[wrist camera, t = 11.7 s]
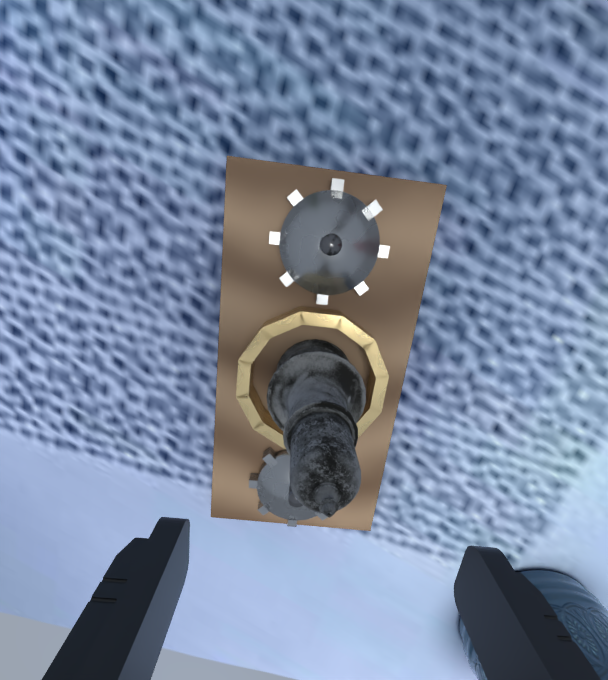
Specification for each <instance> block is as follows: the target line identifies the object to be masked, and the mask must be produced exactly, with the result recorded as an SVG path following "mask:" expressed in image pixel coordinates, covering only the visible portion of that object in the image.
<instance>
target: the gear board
mask: <svg viewBox="0 0 608 680" xmlns="http://www.w3.org/2000/svg"><path fill="white" fill-rule="evenodd" d="M332 178H335V179H343V180H344V187H343V192H345V193H348V194H351V195H353V196H354V197H356V198H358V199H359V200H360V201H362V202H363V203H364V204H365V205H366V206H368V205H369V204H370V203H372V202H373V201H374V200H377V202H378V203H379V205H380V206H381V208H382V209H383V210H382V211H381V212H379V213H378V214H377V215H376V216H374V218H375V220H376V223H377V226H378V230H379V236H380V245H384V246H390V249H389V254H388V258H381V257H377V260H376V263H375V265H374V267H373V269H372V271H371V272H370V274H369V275H368V276H367V277H366V278H365V280H364V283H365V284H366V285H367V287H368V288H369V289H368V290H367V291H366V292H364V293H363V294H362V295H360V296H359V295H358V294H357V293H356V291H355V290H354V289H351V290H349V291H347V292H344V293H341V294H337V295H328V302H327V305H322V304H316V293H313V292H310V291H308V290H306V289H304V288H302V287H301V286H299V285H298V284H297V283H296V282H295V281H294V282H292V283H291V284H290V285H289V286H288V287H286V286H285V285H284V284H283V282H282V281H281V280H280V279H279V278H280V277H281V276H282V275H283V274H285V273H286V272H287V271H286V269H285V267H284V265H283V262H282V259H281V255H280V248H279V245H275V244H269V236H270V231H271V232H279V233H280V232H281V229H282V225H283V223H284V221H285V218H286V217H287V215H288V213H289V212H290V211H291V209H292V208H293V206H292V205H291V204H290V202H289V201H288V200H287V197H288V196H289V195H290V194H291V193H293V192H294V191H295V190H296V189H297V191H298V192H299V193H300V195H301V196H302V197H303V198H305V197H307V196H308V195H310V194H313V193H316V192H320V191H325V190H330V185H331V180H332ZM446 186H447V185H442V184H435V183H427V182H420V181H412V180H405V179H397V178H390V177H382V176H375V175H367V174H360V173H352V172H345V171H337V170H330V169H322V168H315V167H307V166H300V165H292V164H285V163H277V162H270V161H262V160H255V159H247V158H240V157H232V156H227V164H226V186H225V208H224V231H223V253H222V276H221V298H220V320H219V343H218V365H217V388H216V410H215V433H214V455H213V477H212V500H211V517H216V518H228V519H239V520H251V521H262V522H274V523H286V524H288V520H287V519H283V518H280V517H278V516H276V515H274V514H272V513H271V512H268V513H267V514H265V515H264V516H263V515H262V514H261V513H260V512H259V511H258V510H257V509H258V503H259V501H260V499H259V497H258V493H257V489H255V488H249V479H250V475H251V473H258V474H259V472H260V469H261V467H262V465H263V464H264V462H265V461H264V460H263V459H262V457H263V452H264V451H266V450H267V449H268V448H270V447H271V448H272V449H273V450H274V451H275V452H278V451H280V450H283V449H284V448H282V447H280V446H279V445H277V444H276V443H274V442H273V441H271V440H269V439H268V438H266V437H265V436H263V435H261V434H260V433H258V432H257V431H255V430H254V429H253V428H252V426H251V424H250V422H249V421H248V419H247V417H246V415H245V413H244V411H243V409H242V408H241V406H240V404H239V402H238V400H237V398H236V388H237V373H238V359H239V358H240V356H241V354H242V352H243V351H244V349H245V348H246V347H247V345H248V344H249V343H250V341H251V340H252V339H253V337H254V336H255V334H256V333H257V332H258V330H259V329H260V328H261V326H262V325H263V323H264V322H265V321H267V320H269V319H272V318H274V317H276V316H279V315H281V314H283V313H286V312H288V311H290V310H293V309H295V308H297V307H300V306H304V307H312V308H321V309H330V310H338V311H341V312H342V313H343V314H345V315H346V316H347V317H349V318H350V319H351V320H353V321H354V322H355V323H357V324H358V325H359V326H361V327H362V328H363V329H365V330H366V331H367V332H369V333H370V334H371V336H372V337H373V338H374V339H375V341H376V343H377V346H378V349H379V351H380V354H381V356H382V359H383V362H384V364H385V367H386V369H387V372H388V375H389V379H388V384H387V388H386V393H385V398H384V403H383V408H382V412H381V413H380V414H379V416H378V417H377V418H376V419H375V420H374V421H373V422H372V423H371V424H370V426H369V427H368V428H367V429H366V430H365V431H364V432H363V433H362V434H361V436H360V437H359V438H358V441H357V444H356V447H355V450H356V454H357V458H358V461H359V465H360V469H361V485H360V488H359V491H358V493H357V494H356V496H355V498H354V499H353V500H352V501H351V502H350V503H349V504H348V505H347V506H346V507H344V508H342V509H340V510H338V511H337V512H336V513H335V514H334V515H333V516H332V517H330V518H329V517H328V518H326V519H324V520H323V521H322V520H321V519H320V518H319V517H318V516H316V517H313V518H310V519H306V520H298V521H297V525H309V526H320V527H332V528H344V529H355V530H367V531H370V530H371V525H372V521H373V516H374V512H375V507H376V503H377V498H378V494H379V489H380V484H381V480H382V475H383V471H384V466H385V462H386V457H387V453H388V448H389V444H390V439H391V435H392V430H393V426H394V421H395V417H396V412H397V408H398V403H399V399H400V394H401V390H402V385H403V381H404V376H405V371H406V367H407V362H408V358H409V353H410V349H411V344H412V340H413V335H414V331H415V326H416V322H417V317H418V313H419V308H420V304H421V299H422V295H423V290H424V286H425V281H426V277H427V272H428V268H429V263H430V258H431V254H432V249H433V245H434V240H435V236H436V231H437V227H438V222H439V218H440V213H441V209H442V204H443V200H444V195H445V191H446ZM312 339H318V340H324V341H328V342H330V343H332V344H334V345H336V346H337V347H338V348H339V349H341V350H342V351H343V352H344V354H345V355H346V357H347V358H348V360H349V363H351V364H352V365H353V366H354V367H355V368H356V370H357V371H358V372H359V374H360V375H361V377H362V379H363V382H364V385H365V388H366V387H367V382H368V377H369V371H370V366H369V364H368V361H367V359H366V356H365V353H364V351H363V348H362V346H360V345H359V344H358V343H356V342H355V341H354V340H352V339H351V338H349V337H348V336H347V335H345V334H344V333H343V332H341V331H340V330H339V329H336V328H327V327H319V326H310V325H301V326H298V327H296V328H293V329H291V330H289V331H286V332H284V333H282V334H279V335H277V336H275V337H272V338H270V339H269V341H268V342H267V344H266V345H265V346H264V348H263V349H262V350H261V352H260V353H259V354H258V356H257V357H256V358H255V360H254V373H253V386H254V388H255V390H256V392H257V394H258V395H259V397H260V399H261V401H262V403H263V405H264V407H265V409H266V410H268V406H267V398H266V397H267V391H268V385H269V382H270V380H271V378H272V376H273V374H274V373H275V372H276V370H277V365H278V362H279V360H280V358H281V356H282V355H283V354H284V353H285V352H286V351H287V349H288V348H290V347H291V346H293V345H294V344H296V343H299V342H301V341H304V340H312ZM268 411H269V410H268Z"/></svg>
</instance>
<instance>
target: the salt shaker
mask: <svg viewBox="0 0 608 680" xmlns="http://www.w3.org/2000/svg"><path fill="white" fill-rule="evenodd" d="M266 398H267V406H268V410H269V412H270V415H271V417H272V419H273V421H274V422H275V423H276V424H277V426H278V427H279V428H280V429H281V430H282V431H284V432H283V440H284V446H285V448H286V450H287V452H288V454H289V455H290V473H289V478H290V485H291V489H292V491H293V494H294V496H295V498H296V499H297V500H298V501H299V502H300V503H301V504H302V505H304V506H305V507H307V508H308V509H310V510H312V511H315V512H320V513H323V514H324V515H325V516H327V517H329V518H330V517H332V516H333V515H334V514H335V513H336V512H337V511H338V510H340V509H342V508H344V507H346V506H347V505H348V504H349V503H350V502H351V501H352V500H353V499H354V498H355V496H356V494H357V493H358V491H359V488H360V485H361V469H360V465H359V461H358V458H357V454H356V450H355V447H356V444H357V441H358V427H357V424H356V423H357V422H358V420H359V418H360V417H361V415H362V413H363V411H364V407H365V403H366V388H365V385H364V382H363V379H362V377H361V375H360V374H359V372H358V371H357V370H356V368H355V367H354V366H353V365H352V364H351V363H349V360H348V358H347V357H346V355H345V354H344V352H343V351H342V350H341V349H339V348H338V347H337V346H336V345H334V344H332V343H330V342H328V341H324V340H318V339H312V340H304V341H301V342H299V343H296V344H294V345H293V346H291V347H290V348H288V349H287V351H286V352H285V353H284V354H283V355H282V356H281V358H280V360H279V362H278V365H277V370H276V372H275V373H274V374H273V376H272V378H271V380H270V382H269V385H268V391H267V397H266Z"/></svg>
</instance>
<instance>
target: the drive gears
mask: <svg viewBox="0 0 608 680" xmlns="http://www.w3.org/2000/svg"><path fill="white" fill-rule="evenodd" d="M343 187H344V180H343V179H335V178H332V180H331V185H330V190H325V191H320V192H316V193H313V194H310V195H308V196H307V197H305V198H303V197H302V196H301V195H300V193H299V192H298V191H297V189H296V190H295V191H294V192H293V193H291V194H290V195H289V196H288V197H287V200H288V201H289V202H290V204H291V205H292V206H293V208H292V209H291V211H290V212H289V213H288V215H287V217H286V218H285V221H284V223H283V225H282V229H281V232H280V233H279V232H271V231H270V236H269V244H275V245H279V248H280V255H281V259H282V262H283V265H284V267H285V269H286V271H287V272H286V273H285V274H283V275H282V276H281V277H280V278H279V279H280V280H281V281H282V282H283V284H284V285H285V286H286V287H288V286H289V285H290V284H291V283H292V282H294V281H295V282H296V283H297V284H298V285H299V286H301V287H302V288H304V289H306V290H308V291H310V292H313V293H316V304H322V305H327V302H328V295H337V294H341V293H344V292H347V291H349V290H351V289H354V290H355V291H356V293H357V294H358V295H359V296H360V295H362V294H363V293H364V292H366V291H367V290H368V289H369V288H368V287H367V285H366V284H365V283H364V280H365V278H366V277H367V276H368V275H369V274H370V272H371V271H372V269H373V267H374V265H375V263H376V260H377V257H381V258H388V254H389V249H390V246H384V245H380V236H379V230H378V226H377V223H376V220H375V218H374V216H376V215H377V214H378V213H379V212H381V211H382V210H383V209H382V208H381V206H380V205H379V203H378V202H377V200H374V201H373V202H372V203H370V204H369V205H368V206H366V205H365V204H364V203H363V202H362V201H360V200H359V199H358V198H356V197H354V196H353V195H351V194H348V193H345V192H343ZM262 459H263V460H264V461H265V462H264V464H263V465H262V467H261V469H260V472H259V474H258V473H251V475H250V479H249V488H255V489H257V493H258V497H259V499H260V501H259V503H258V509H257V510H258V511H259V512H260V513H261V514H262V515H263V516H264V515H265V514H267V513H268V512H271V513H272V514H274V515H276V516H278V517H280V518H283V519H287V520H288V524H287V526H292V527H296V525H297V521H298V520H306V519H310V518H313V517H316V516H318V517H319V518H320V519H321V520H322V521H323V520H324V519H326V518H328V517H327V516H325V515H324V514H323V513H320V512H315V511H312V510H310V509H308V508H307V507H305V506H304V505H302V504H301V503H300V502H299V501H298V500H297V499H296V498H295V496H294V494H293V491H292V489H291V485H290V478H289V473H290V455H289V454H288V452H287V450H286V449H283V450H280V451H278V452H275V451H274V450H273V449H272V448H271V447H270V448H268V449H267V450H266V451H264V452H263V457H262Z"/></svg>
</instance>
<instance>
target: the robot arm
mask: <svg viewBox="0 0 608 680" xmlns="http://www.w3.org/2000/svg"><path fill="white" fill-rule="evenodd" d="M189 533H190V522H189V519H180V518H169V517H161V518H160V519H159V521H158V522H157V524H156V526H155V528H154V530H153V532H152V534H151V535H150V537H149V539H147V538H134V539H133V540H132V541H131V542H130V543H129V544H128V545H127V546H126V547H125V548H124V549H123V550H122V551H121V552H119V553H118V554H117V555H116V557H115V559H114V560H113V562H112V564H111V565H110V567H109V569H108V570H107V572H106V574H105V575H104V577H103V580H102V582H100V584H99V585H98V587H97V589H96V590H95V592H94V594H93V595H92V598H91V601H90V602H88V604H87V605H86V607H85V609H84V610H83V612H82V614H81V615H80V617H79V619H78V620H77V622H76V624H75V625H74V627H73V629H72V630H71V632H70V634H69V635H68V637H67V639H66V640H65V642H64V644H63V645H62V647H61V649H60V650H59V652H58V653H57V655H56V657H55V659H54V660H53V662H52V663H51V665H50V667H49V668H48V670H47V672H46V674H45V675H44V677H43V678H42V680H151V677H152V674H153V671H154V668H155V665H156V663H157V660H158V657H159V654H160V651H161V648H162V646H163V643H164V640H165V637H166V634H167V631H168V628H169V626H170V623H171V620H172V617H173V614H174V611H175V608H176V606H177V603H178V600H179V597H180V594H181V591H182V588H183V585H184V582H185V578H186V574H187V570H188V564H189ZM454 597H455V602H456V606H457V609H458V612H459V614H460V616H461V619H462V621H463V623H464V626H465V628H466V630H467V633H468V635H469V637H470V640H471V642H472V645H473V647H474V649H475V652H476V654H477V656H478V659H479V661H480V663H481V666H482V668H483V670H484V673H485V675H486V677H487V680H601V679H600V677H599V676H598V674H597V673H596V671H595V670H594V668H593V667H592V666H591V664H590V663H589V661H588V660H587V658H586V657H585V655H584V654H583V652H582V651H581V650H580V648H579V647H578V645H577V644H576V642H573V641H572V638H571V637H572V636H571V635H570V634H569V632H568V631H567V629H566V628H565V626H564V625H563V623H562V622H561V621H559V620H558V618H557V617H558V616H557V615H556V613H555V612H554V610H553V609H552V607H551V606H550V604H549V603H548V602H547V600H546V599H545V597H544V596H543V594H542V593H541V592H540V591H539V590H538V589H537V588H536V587H535V586H534V585H533V584H532V583H531V582H530V581H529V580H528V579H527V578H526V577H525V576H524V575H523V574H522V573H521V572H515V571H514V569H513V568H512V566H511V565H510V563H509V562H508V560H507V559H506V557H505V556H504V554H503V553H502V552H501V551H500V550H499V549H497V548H491V547H480V546H468V547H467V549H466V551H465V554H464V557H463V560H462V563H461V565H460V568H459V571H458V574H457V577H456V580H455V583H454Z"/></svg>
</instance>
